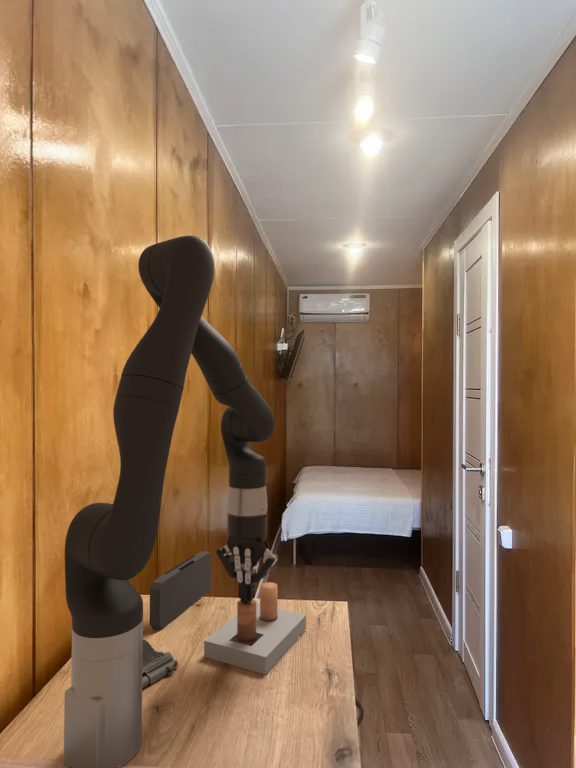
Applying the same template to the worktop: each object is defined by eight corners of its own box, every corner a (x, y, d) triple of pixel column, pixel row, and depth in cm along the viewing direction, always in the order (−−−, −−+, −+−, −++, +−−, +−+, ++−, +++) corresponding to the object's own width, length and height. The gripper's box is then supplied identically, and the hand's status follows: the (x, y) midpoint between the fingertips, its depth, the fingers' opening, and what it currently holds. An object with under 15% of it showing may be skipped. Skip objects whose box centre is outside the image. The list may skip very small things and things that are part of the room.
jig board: (265, 674, 84) (266, 619, 84) (204, 657, 89) (204, 605, 89) (306, 629, 100) (306, 583, 100) (252, 616, 105) (252, 573, 106)
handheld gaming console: (202, 588, 121) (202, 548, 121) (211, 590, 120) (212, 550, 120) (147, 630, 99) (148, 582, 100) (159, 632, 98) (159, 583, 99)
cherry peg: (250, 660, 88) (250, 608, 88) (233, 655, 90) (233, 604, 90) (259, 651, 91) (260, 600, 92) (243, 646, 93) (243, 597, 93)
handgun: (57, 679, 79) (101, 705, 72) (142, 636, 93) (186, 654, 86) (57, 695, 79) (101, 722, 72) (142, 649, 93) (186, 668, 86)
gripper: (207, 510, 91) (206, 602, 90) (269, 517, 85) (268, 616, 84) (228, 502, 97) (227, 588, 97) (287, 508, 92) (286, 600, 91)
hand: (246, 601), depth 91 cm, fingers closed
